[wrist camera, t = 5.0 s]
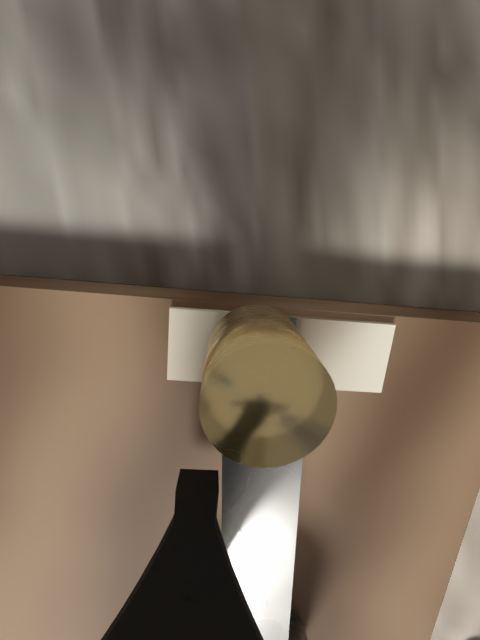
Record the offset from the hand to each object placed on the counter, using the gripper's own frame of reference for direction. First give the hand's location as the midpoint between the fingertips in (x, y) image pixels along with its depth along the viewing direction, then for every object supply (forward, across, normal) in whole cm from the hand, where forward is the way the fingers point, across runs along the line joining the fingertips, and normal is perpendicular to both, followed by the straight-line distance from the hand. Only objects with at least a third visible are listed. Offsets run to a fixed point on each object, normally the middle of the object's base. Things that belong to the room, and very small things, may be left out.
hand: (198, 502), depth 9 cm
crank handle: (+1, -2, +4) cm, 4 cm away
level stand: (+3, +1, +4) cm, 5 cm away
